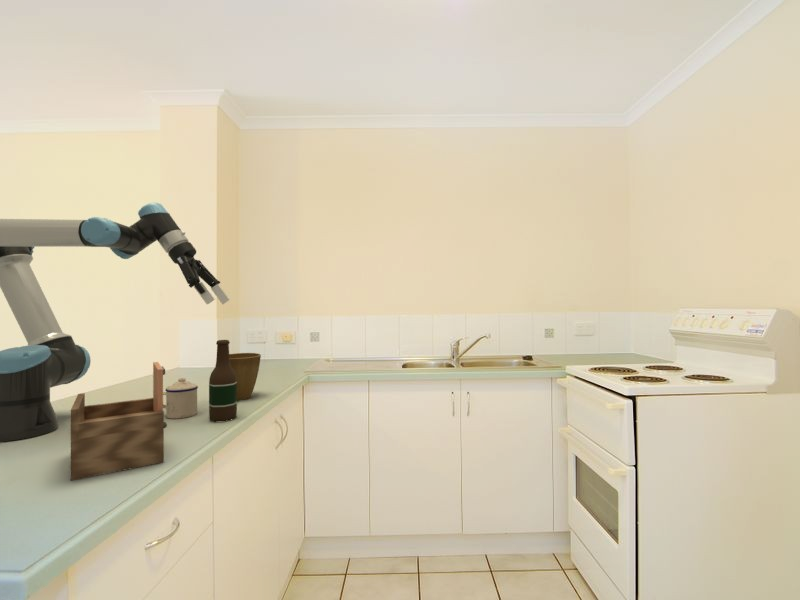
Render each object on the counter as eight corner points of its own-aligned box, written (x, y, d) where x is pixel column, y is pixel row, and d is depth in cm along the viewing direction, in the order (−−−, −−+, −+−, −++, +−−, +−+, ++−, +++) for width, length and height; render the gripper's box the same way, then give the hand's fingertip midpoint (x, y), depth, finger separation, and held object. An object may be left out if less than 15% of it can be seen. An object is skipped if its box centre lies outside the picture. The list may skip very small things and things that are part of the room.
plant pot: (216, 396, 154) (216, 354, 154) (257, 392, 161) (257, 352, 161) (219, 404, 141) (219, 358, 141) (264, 399, 148) (264, 356, 148)
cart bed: (70, 480, 80) (70, 409, 80) (78, 453, 95) (78, 393, 95) (166, 461, 90) (166, 398, 90) (160, 439, 104) (160, 385, 105)
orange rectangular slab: (157, 423, 90) (157, 369, 90) (153, 409, 102) (153, 362, 102) (167, 422, 91) (167, 368, 91) (161, 408, 103) (161, 361, 103)
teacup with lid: (202, 411, 133) (202, 375, 133) (190, 418, 124) (190, 380, 124) (165, 411, 132) (165, 376, 132) (149, 419, 123) (149, 381, 123)
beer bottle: (209, 423, 118) (209, 341, 118) (208, 417, 125) (208, 339, 125) (238, 420, 122) (237, 340, 122) (235, 414, 129) (235, 338, 129)
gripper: (170, 234, 116) (214, 294, 117) (204, 246, 141) (240, 295, 142) (147, 249, 115) (192, 309, 116) (185, 258, 140) (222, 308, 141)
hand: (219, 302), depth 129 cm, fingers open, 13 cm apart
